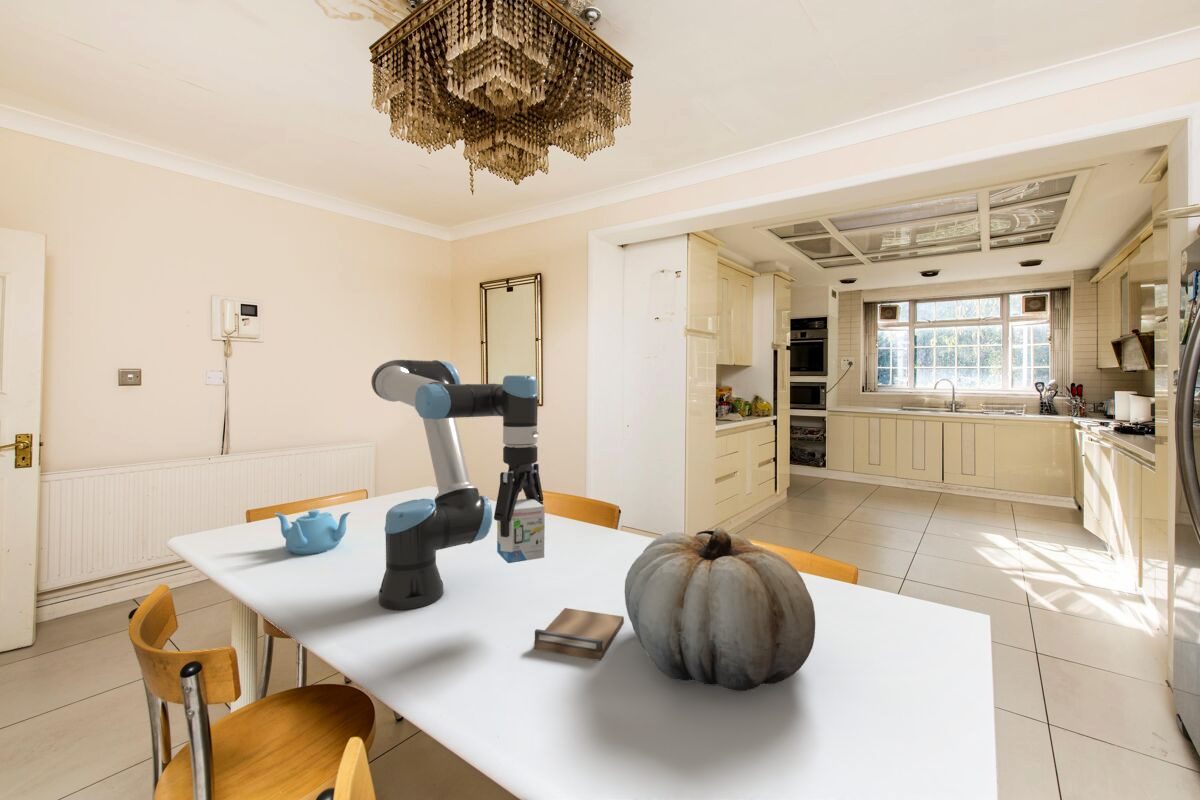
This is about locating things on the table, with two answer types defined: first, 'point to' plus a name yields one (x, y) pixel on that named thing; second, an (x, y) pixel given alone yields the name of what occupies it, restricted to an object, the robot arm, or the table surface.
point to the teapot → (312, 532)
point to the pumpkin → (719, 610)
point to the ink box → (525, 532)
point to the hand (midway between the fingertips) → (520, 542)
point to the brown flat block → (579, 633)
